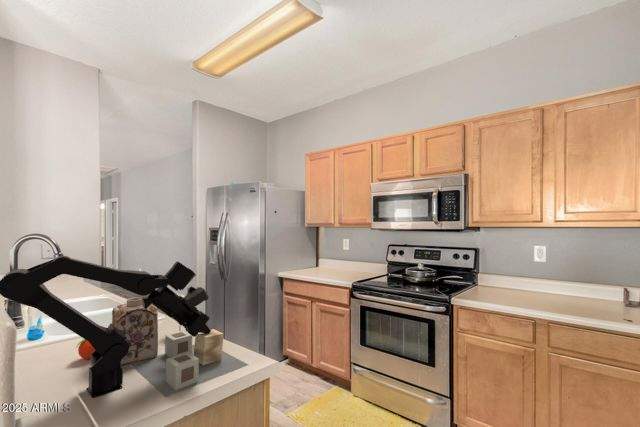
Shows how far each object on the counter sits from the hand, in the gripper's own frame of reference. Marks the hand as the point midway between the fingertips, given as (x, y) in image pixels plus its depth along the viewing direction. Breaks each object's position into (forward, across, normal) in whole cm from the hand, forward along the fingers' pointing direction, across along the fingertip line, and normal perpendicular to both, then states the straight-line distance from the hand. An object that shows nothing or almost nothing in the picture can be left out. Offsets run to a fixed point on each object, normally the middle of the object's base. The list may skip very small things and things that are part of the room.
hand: (209, 332), depth 99 cm
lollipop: (+6, +28, +7) cm, 30 cm away
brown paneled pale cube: (+1, +10, +10) cm, 15 cm away
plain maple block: (+5, 0, +6) cm, 8 cm away
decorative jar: (-7, +18, +18) cm, 26 cm away
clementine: (-14, +24, +26) cm, 38 cm away
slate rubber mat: (+2, +1, +10) cm, 11 cm away
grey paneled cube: (-2, -9, +13) cm, 16 cm away
